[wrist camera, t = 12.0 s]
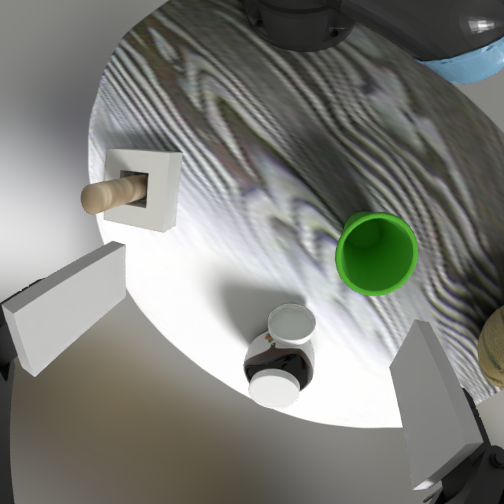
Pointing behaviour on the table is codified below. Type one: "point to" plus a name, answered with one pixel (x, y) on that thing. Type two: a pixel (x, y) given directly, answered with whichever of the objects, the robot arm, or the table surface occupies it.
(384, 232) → the cup
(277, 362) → the spread jar
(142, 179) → the peg
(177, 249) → the table surface
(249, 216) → the table surface
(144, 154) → the socket block
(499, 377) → the cantaloupe
